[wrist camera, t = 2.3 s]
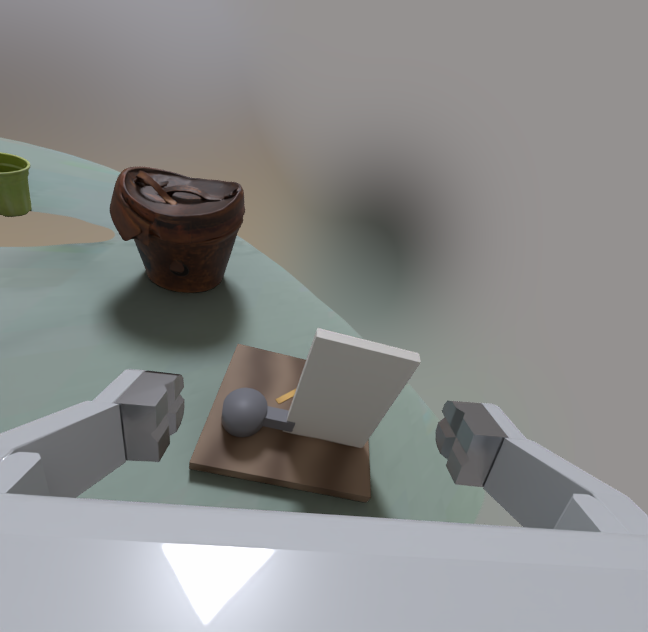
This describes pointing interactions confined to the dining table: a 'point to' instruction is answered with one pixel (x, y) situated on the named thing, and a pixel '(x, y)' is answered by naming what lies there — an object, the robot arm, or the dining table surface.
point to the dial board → (278, 436)
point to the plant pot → (14, 185)
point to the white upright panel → (330, 392)
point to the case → (178, 225)
